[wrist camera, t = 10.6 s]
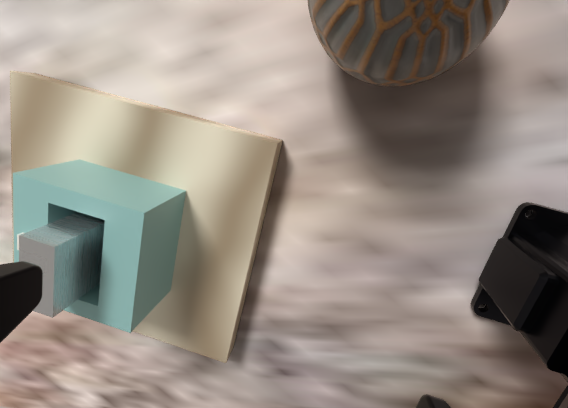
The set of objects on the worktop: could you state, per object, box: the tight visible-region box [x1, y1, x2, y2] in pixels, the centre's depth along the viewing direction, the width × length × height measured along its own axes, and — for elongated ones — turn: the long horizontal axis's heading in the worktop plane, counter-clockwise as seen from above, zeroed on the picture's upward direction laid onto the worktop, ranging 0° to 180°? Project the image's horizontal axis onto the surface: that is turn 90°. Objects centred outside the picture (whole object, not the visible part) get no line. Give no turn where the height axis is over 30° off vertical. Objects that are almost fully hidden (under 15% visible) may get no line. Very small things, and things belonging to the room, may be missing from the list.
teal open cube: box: [13, 159, 186, 333], centre depth 18 cm, size 6×6×4 cm
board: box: [10, 71, 283, 363], centre depth 20 cm, size 15×14×2 cm
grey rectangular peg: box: [19, 212, 105, 318], centre depth 17 cm, size 2×3×6 cm, turn 166°
